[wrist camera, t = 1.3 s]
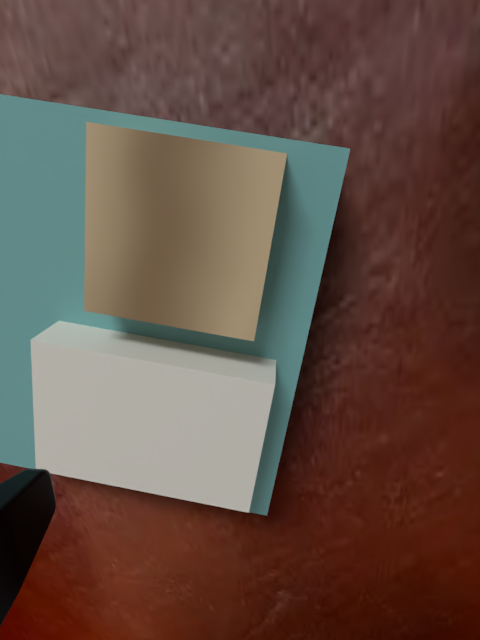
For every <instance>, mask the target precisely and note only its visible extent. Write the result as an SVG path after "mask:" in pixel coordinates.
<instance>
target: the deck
mask: <svg viewBox="0 0 480 640" xmlns="http://www.w3.org/2000/svg"><path fill="white" fill-rule="evenodd" d="M86 122H91V123H97V124H103V125H110V126H116V127H123V128H129V129H135V130H142V131H148V132H154V133H161V134H167V135H173V136H180V137H186V138H192V139H199V140H205V141H211V142H218V143H224V144H231V145H237V146H243V147H250V148H256V149H262V150H269V151H275V152H281V153H287V159H286V164H285V170H284V176H283V181H282V187H281V193H280V198H279V204H278V210H277V215H276V221H275V227H274V232H273V238H272V244H271V249H270V255H269V261H268V266H267V272H266V278H265V283H264V289H263V295H262V300H261V306H260V312H259V317H258V323H257V328H256V334H255V339H254V341H249V340H243V339H238V338H232V337H227V336H221V335H216V334H210V333H205V332H199V331H193V330H188V329H182V328H177V327H171V326H166V325H160V324H154V323H149V322H143V321H138V320H132V319H127V318H121V317H115V316H110V315H104V314H99V313H93V312H88V311H84V276H85V185H86ZM349 152H350V149H348V148H342V147H336V146H329V145H323V144H316V143H310V142H303V141H297V140H291V139H284V138H278V137H271V136H265V135H258V134H252V133H246V132H239V131H233V130H226V129H220V128H214V127H207V126H201V125H194V124H188V123H181V122H175V121H169V120H162V119H156V118H149V117H143V116H136V115H130V114H124V113H117V112H111V111H104V110H98V109H92V108H85V107H79V106H72V105H66V104H59V103H53V102H47V101H40V100H34V99H27V98H21V97H14V96H8V95H2V94H0V462H1V463H6V464H11V465H16V466H21V467H26V468H35V469H36V462H35V438H34V413H33V389H32V364H31V339H32V338H34V337H35V336H37V335H38V334H40V333H41V332H43V331H44V330H46V329H47V328H49V327H50V326H52V325H53V324H55V323H56V322H58V321H64V322H69V323H75V324H80V325H86V326H91V327H97V328H102V329H108V330H113V331H119V332H124V333H130V334H135V335H141V336H146V337H152V338H157V339H163V340H168V341H174V342H180V343H185V344H191V345H196V346H202V347H207V348H213V349H218V350H224V351H229V352H235V353H240V354H246V355H251V356H257V357H262V358H268V359H273V360H276V379H275V388H274V393H273V398H272V403H271V408H270V413H269V418H268V422H267V427H266V432H265V437H264V442H263V447H262V452H261V456H260V461H259V466H258V471H257V476H256V481H255V486H254V491H253V495H252V500H251V505H250V510H249V512H251V513H256V514H261V515H266V516H267V513H268V509H269V505H270V500H271V496H272V491H273V487H274V483H275V478H276V474H277V469H278V465H279V461H280V456H281V452H282V447H283V443H284V439H285V434H286V430H287V425H288V421H289V417H290V412H291V408H292V403H293V399H294V395H295V390H296V386H297V381H298V377H299V373H300V368H301V364H302V359H303V355H304V351H305V346H306V342H307V337H308V333H309V329H310V324H311V320H312V315H313V311H314V307H315V302H316V298H317V293H318V289H319V285H320V280H321V276H322V271H323V267H324V262H325V258H326V254H327V249H328V245H329V240H330V236H331V232H332V227H333V223H334V218H335V214H336V210H337V205H338V201H339V196H340V192H341V188H342V183H343V179H344V174H345V170H346V166H347V161H348V157H349Z"/></svg>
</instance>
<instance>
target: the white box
mask: <svg viewBox="0 0 480 640" xmlns="http://www.w3.org/2000/svg"><path fill="white" fill-rule="evenodd" d="M31 364H32V389H33V413H34V438H35V462H36V469H46V470H48V471H49V473H52V474H57V475H62V476H67V477H72V478H77V479H82V480H87V481H92V482H97V483H102V484H107V485H112V486H117V487H122V488H127V489H132V490H137V491H142V492H147V493H152V494H157V495H162V496H167V497H172V498H177V499H182V500H187V501H192V502H197V503H202V504H207V505H212V506H217V507H222V508H227V509H232V510H237V511H242V512H247V513H249V510H250V505H251V500H252V495H253V491H254V486H255V481H256V476H257V471H258V466H259V461H260V456H261V452H262V447H263V442H264V437H265V432H266V427H267V422H268V418H269V413H270V408H271V403H272V398H273V393H274V388H275V379H276V360H273V359H268V358H262V357H257V356H251V355H246V354H240V353H235V352H229V351H224V350H218V349H213V348H207V347H202V346H196V345H191V344H185V343H180V342H174V341H168V340H163V339H157V338H152V337H146V336H141V335H135V334H130V333H124V332H119V331H113V330H108V329H102V328H97V327H91V326H86V325H80V324H75V323H69V322H64V321H58V322H56V323H55V324H53V325H52V326H50V327H49V328H47V329H46V330H44V331H43V332H41V333H40V334H38V335H37V336H35V337H34V338H32V339H31Z"/></svg>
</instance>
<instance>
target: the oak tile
mask: <svg viewBox="0 0 480 640" xmlns="http://www.w3.org/2000/svg"><path fill="white" fill-rule="evenodd" d="M286 159H287V153H281V152H275V151H269V150H262V149H256V148H250V147H243V146H237V145H231V144H224V143H218V142H211V141H205V140H199V139H192V138H186V137H180V136H173V135H167V134H161V133H154V132H148V131H142V130H135V129H129V128H123V127H116V126H110V125H103V124H97V123H91V122H86V185H85V276H84V311H88V312H93V313H99V314H104V315H110V316H115V317H121V318H127V319H132V320H138V321H143V322H149V323H154V324H160V325H166V326H171V327H177V328H182V329H188V330H193V331H199V332H205V333H210V334H216V335H221V336H227V337H232V338H238V339H243V340H249V341H254V339H255V334H256V328H257V323H258V317H259V312H260V306H261V300H262V295H263V289H264V283H265V278H266V272H267V266H268V261H269V255H270V249H271V244H272V238H273V232H274V227H275V221H276V215H277V210H278V204H279V198H280V193H281V187H282V181H283V176H284V170H285V164H286Z"/></svg>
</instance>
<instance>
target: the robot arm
mask: <svg viewBox="0 0 480 640" xmlns="http://www.w3.org/2000/svg"><path fill="white" fill-rule="evenodd" d="M55 507H56V499H55V494H54V489H53V484H52V479H51V475H50V473H49V471H48V470H46V469H35V468H29V469H26V470H24V471H22V472H20V473H18V474H16V475H15V476H13V477H11V478H9V479H8V480H6V481H4V482H2V483H1V484H0V626H1V624H2V622H3V620H4V619H5V617H6V615H7V613H8V611H9V610H10V608H11V606H12V604H13V602H14V600H15V598H16V597H17V595H18V593H19V591H20V589H21V587H22V584H23V582H24V580H25V578H26V576H27V574H28V571H29V569H30V567H31V564H32V562H33V560H34V558H35V555H36V553H37V551H38V549H39V546H40V544H41V542H42V540H43V537H44V535H45V533H46V530H47V528H48V526H49V524H50V521H51V519H52V517H53V514H54V512H55Z"/></svg>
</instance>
